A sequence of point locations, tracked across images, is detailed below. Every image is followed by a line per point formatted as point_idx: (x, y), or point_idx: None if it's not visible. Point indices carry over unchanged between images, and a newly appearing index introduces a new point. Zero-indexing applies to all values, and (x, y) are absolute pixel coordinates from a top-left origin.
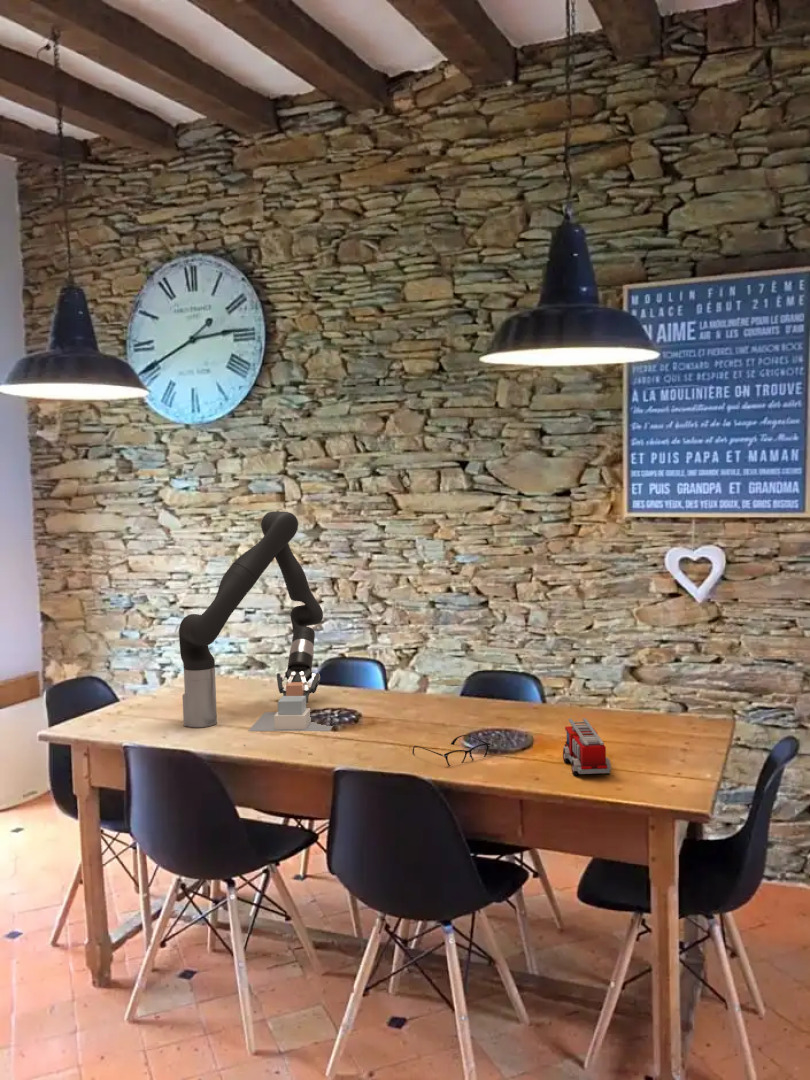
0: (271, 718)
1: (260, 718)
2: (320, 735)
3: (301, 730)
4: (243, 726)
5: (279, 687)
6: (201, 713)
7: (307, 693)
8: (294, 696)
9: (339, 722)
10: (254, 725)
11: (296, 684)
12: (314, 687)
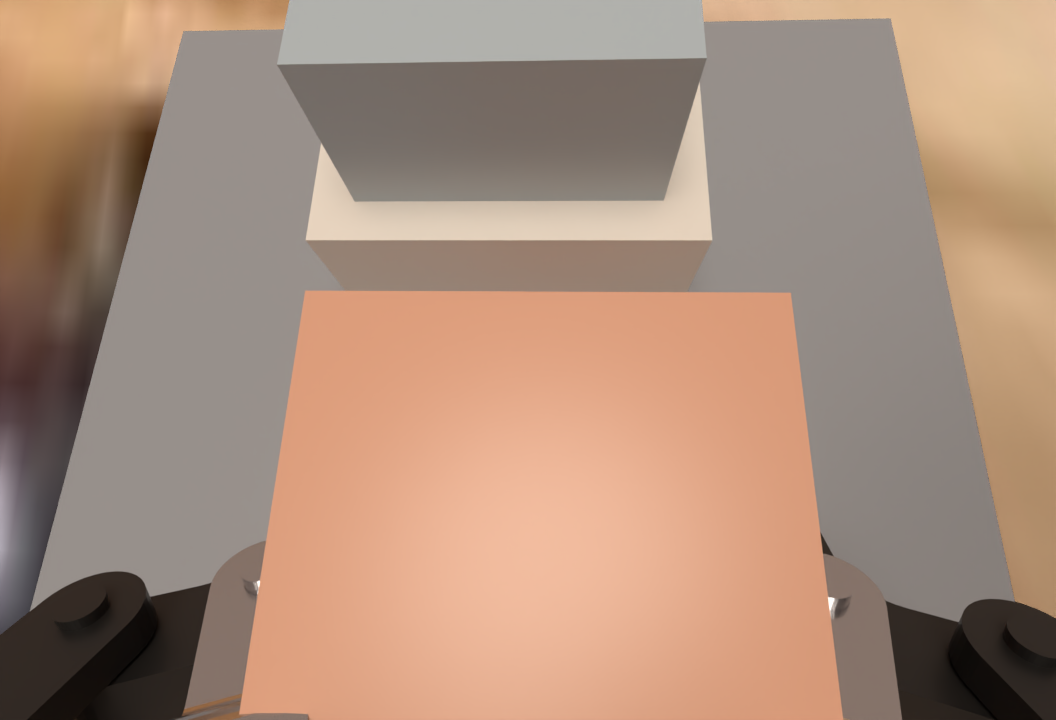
0: (828, 443)
1: (965, 447)
2: (272, 9)
3: None
4: (1037, 253)
5: (1044, 628)
6: None
7: None
8: (478, 26)
9: (85, 378)
10: (906, 175)
11: (488, 430)
12: (34, 615)
